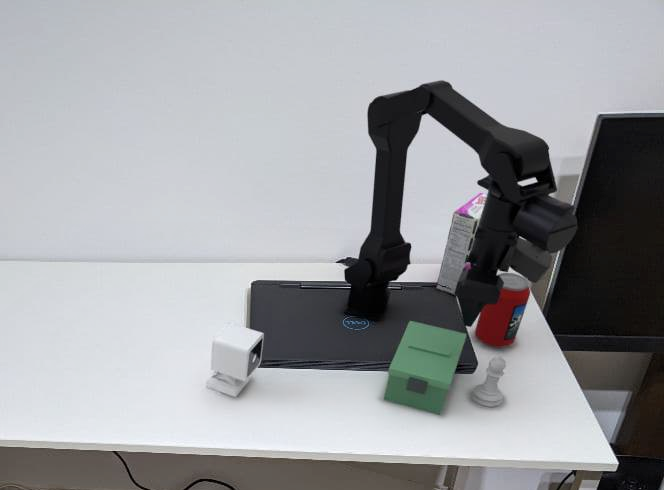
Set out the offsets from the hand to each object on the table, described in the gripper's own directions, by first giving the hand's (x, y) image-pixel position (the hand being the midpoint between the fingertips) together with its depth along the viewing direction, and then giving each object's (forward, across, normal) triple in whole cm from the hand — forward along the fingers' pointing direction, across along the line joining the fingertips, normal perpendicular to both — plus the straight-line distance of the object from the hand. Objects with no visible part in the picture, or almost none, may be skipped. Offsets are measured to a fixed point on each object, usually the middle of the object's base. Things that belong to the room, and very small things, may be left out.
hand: (472, 311), depth 136 cm
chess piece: (+12, -5, -6) cm, 15 cm away
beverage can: (+12, +13, -5) cm, 18 cm away
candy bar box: (+13, +31, +4) cm, 34 cm away
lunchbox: (+12, -6, +4) cm, 14 cm away
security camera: (+13, -20, +32) cm, 40 cm away
